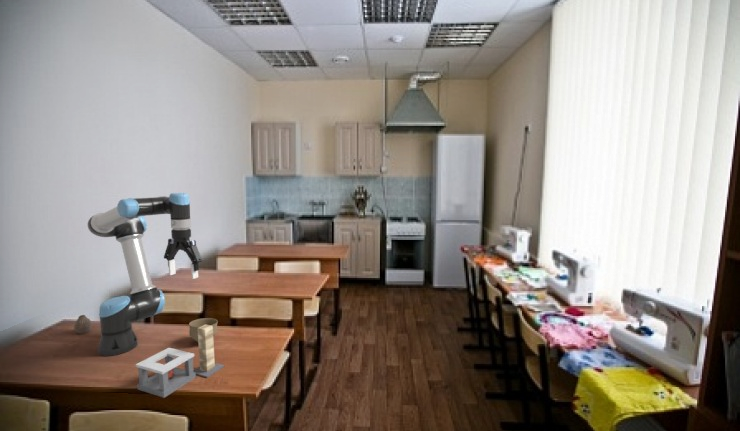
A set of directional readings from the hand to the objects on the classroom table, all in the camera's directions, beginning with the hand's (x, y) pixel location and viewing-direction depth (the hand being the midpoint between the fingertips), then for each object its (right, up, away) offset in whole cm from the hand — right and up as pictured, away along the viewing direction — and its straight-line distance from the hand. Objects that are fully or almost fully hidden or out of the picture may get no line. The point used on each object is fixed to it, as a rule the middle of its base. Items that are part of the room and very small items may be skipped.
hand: (183, 276), depth 156 cm
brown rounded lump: (-66, -34, +27) cm, 79 cm away
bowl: (+1, -35, +17) cm, 39 cm away
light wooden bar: (+15, -37, -9) cm, 41 cm away
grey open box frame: (+4, -39, -18) cm, 43 cm away
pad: (+15, -37, -9) cm, 41 cm away
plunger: (+4, -38, -19) cm, 42 cm away
